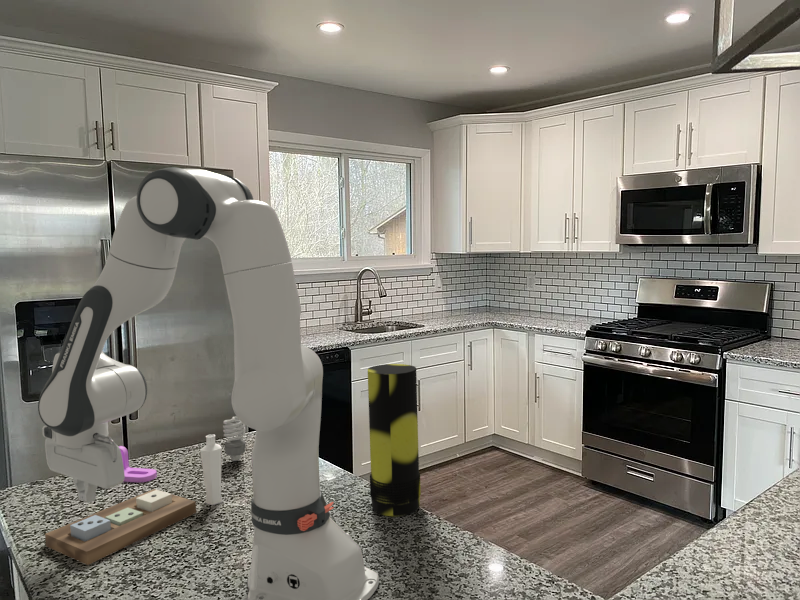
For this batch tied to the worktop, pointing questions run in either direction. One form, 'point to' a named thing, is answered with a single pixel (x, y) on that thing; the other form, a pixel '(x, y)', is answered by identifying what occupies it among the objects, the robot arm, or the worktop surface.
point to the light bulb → (234, 438)
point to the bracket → (135, 470)
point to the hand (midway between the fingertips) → (87, 500)
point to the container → (393, 439)
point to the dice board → (119, 530)
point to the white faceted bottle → (212, 470)
